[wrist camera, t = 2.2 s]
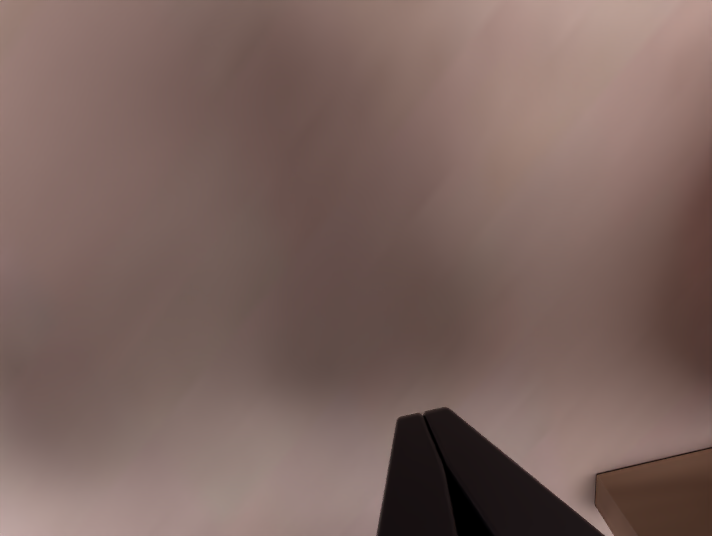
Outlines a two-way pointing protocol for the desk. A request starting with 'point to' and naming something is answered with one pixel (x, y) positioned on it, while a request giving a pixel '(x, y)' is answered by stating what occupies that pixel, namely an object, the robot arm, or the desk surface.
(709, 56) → the desk surface
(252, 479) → the desk surface
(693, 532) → the rail
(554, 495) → the robot arm
